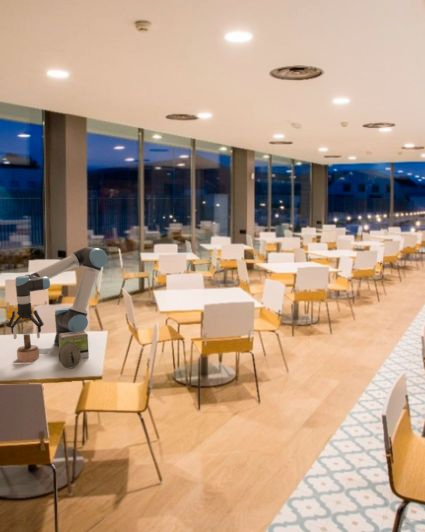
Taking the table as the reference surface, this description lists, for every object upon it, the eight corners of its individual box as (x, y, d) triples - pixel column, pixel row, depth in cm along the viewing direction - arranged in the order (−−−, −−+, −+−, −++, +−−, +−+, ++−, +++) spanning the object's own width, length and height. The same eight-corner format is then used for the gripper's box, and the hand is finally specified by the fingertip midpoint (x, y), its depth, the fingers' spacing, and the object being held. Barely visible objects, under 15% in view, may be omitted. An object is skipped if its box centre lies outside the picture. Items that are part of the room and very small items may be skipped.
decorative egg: (84, 368, 304) (82, 342, 302) (62, 372, 298) (61, 346, 296) (77, 362, 314) (76, 337, 312) (57, 366, 308) (55, 340, 306)
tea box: (63, 362, 316) (61, 337, 314) (59, 357, 325) (58, 333, 323) (89, 357, 323) (87, 333, 321) (84, 353, 332) (83, 329, 330)
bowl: (41, 355, 330) (41, 345, 329) (35, 362, 318) (34, 352, 317) (21, 356, 329) (20, 346, 329) (14, 362, 318) (14, 352, 317)
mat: (51, 349, 342) (51, 348, 342) (46, 354, 331) (46, 353, 331) (33, 349, 342) (33, 348, 342) (28, 355, 331) (28, 354, 331)
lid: (40, 346, 328) (39, 331, 327) (34, 351, 317) (33, 337, 316) (21, 346, 328) (20, 332, 327) (15, 352, 317) (13, 337, 316)
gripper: (47, 300, 322) (50, 335, 326) (4, 302, 322) (7, 337, 325) (43, 303, 315) (46, 339, 318) (0, 304, 315) (3, 340, 318)
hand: (26, 338), depth 322 cm, fingers open, 13 cm apart
